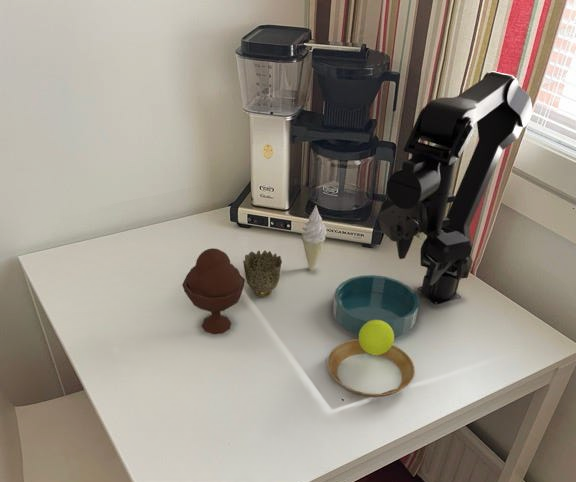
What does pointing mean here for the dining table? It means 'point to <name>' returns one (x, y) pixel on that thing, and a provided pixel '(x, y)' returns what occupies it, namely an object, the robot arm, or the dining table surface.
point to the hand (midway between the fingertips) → (416, 270)
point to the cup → (262, 272)
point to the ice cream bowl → (214, 288)
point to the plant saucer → (354, 348)
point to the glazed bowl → (375, 303)
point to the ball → (376, 337)
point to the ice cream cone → (313, 237)
